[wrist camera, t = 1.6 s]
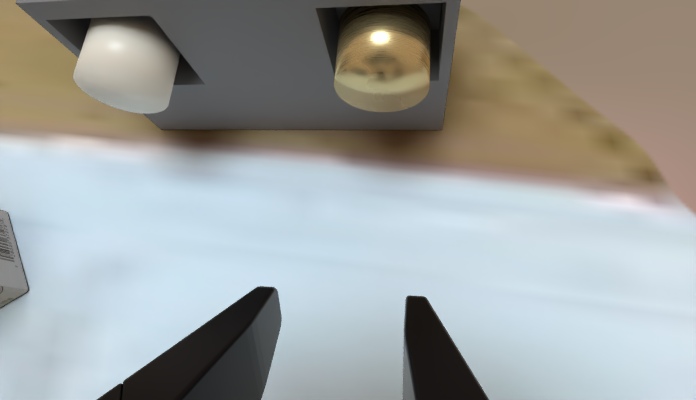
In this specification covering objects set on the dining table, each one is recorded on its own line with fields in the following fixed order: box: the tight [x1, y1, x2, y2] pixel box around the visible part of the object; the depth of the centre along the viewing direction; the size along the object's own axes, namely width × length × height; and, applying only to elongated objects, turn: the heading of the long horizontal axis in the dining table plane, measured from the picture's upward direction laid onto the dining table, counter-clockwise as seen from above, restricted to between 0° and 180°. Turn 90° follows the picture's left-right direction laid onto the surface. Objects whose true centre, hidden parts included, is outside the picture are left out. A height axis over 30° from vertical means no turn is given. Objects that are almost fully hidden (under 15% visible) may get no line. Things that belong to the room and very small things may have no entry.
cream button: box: [73, 16, 181, 114], centre depth 20 cm, size 3×4×4 cm
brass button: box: [334, 4, 431, 112], centre depth 18 cm, size 3×4×4 cm
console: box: [16, 0, 461, 130], centre depth 22 cm, size 6×18×12 cm, turn 85°
